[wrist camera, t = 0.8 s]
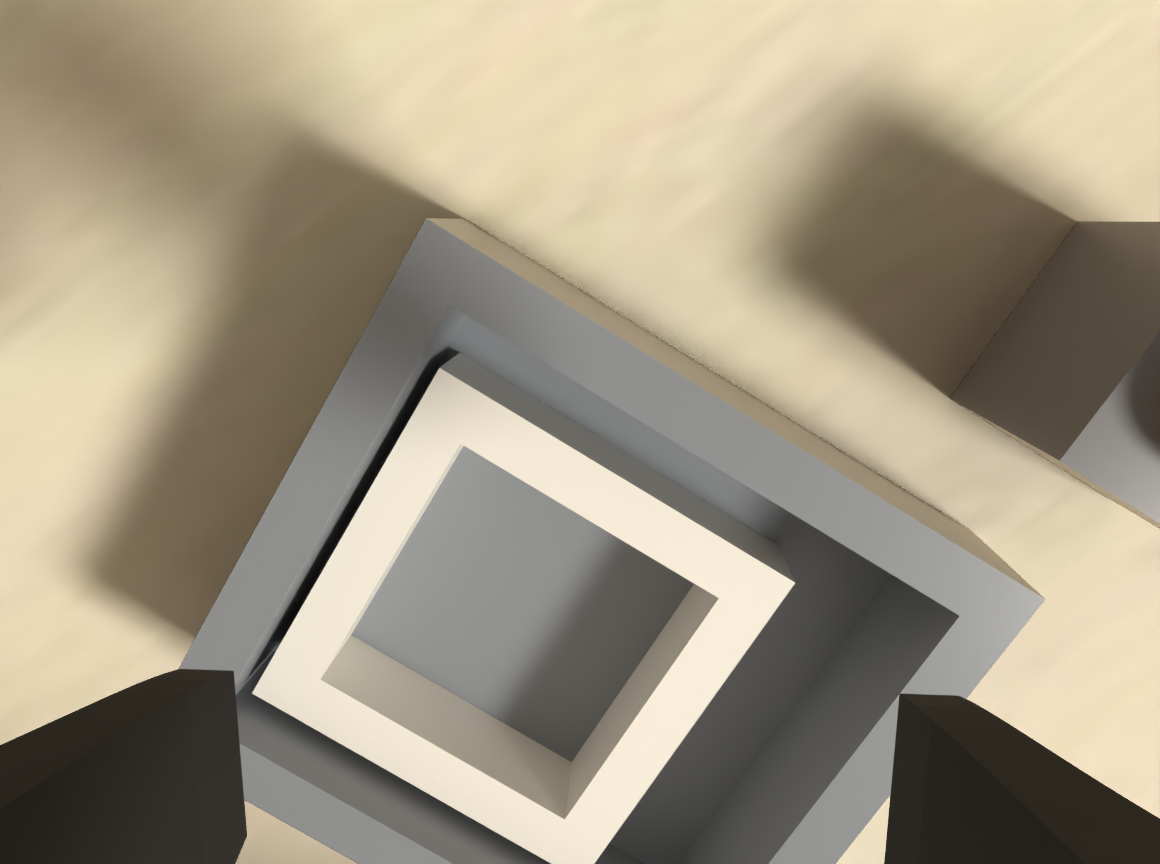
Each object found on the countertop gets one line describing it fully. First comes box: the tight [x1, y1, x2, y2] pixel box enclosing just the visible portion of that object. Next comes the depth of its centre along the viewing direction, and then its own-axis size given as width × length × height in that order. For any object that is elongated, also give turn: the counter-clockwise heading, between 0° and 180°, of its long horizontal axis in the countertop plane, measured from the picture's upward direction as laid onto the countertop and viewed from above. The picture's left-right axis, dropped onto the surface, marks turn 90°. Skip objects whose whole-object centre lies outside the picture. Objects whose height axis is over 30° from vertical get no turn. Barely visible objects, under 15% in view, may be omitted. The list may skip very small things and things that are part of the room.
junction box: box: [179, 218, 1045, 864], centre depth 18 cm, size 12×11×4 cm
